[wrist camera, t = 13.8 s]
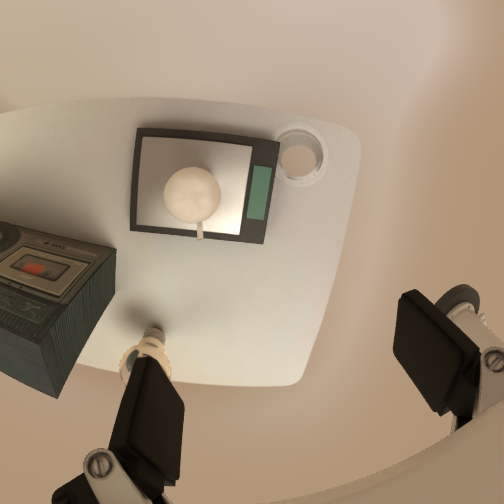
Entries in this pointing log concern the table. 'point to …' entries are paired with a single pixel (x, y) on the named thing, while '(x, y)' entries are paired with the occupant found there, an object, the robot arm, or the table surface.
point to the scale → (220, 166)
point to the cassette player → (49, 303)
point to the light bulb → (146, 353)
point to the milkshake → (192, 196)
